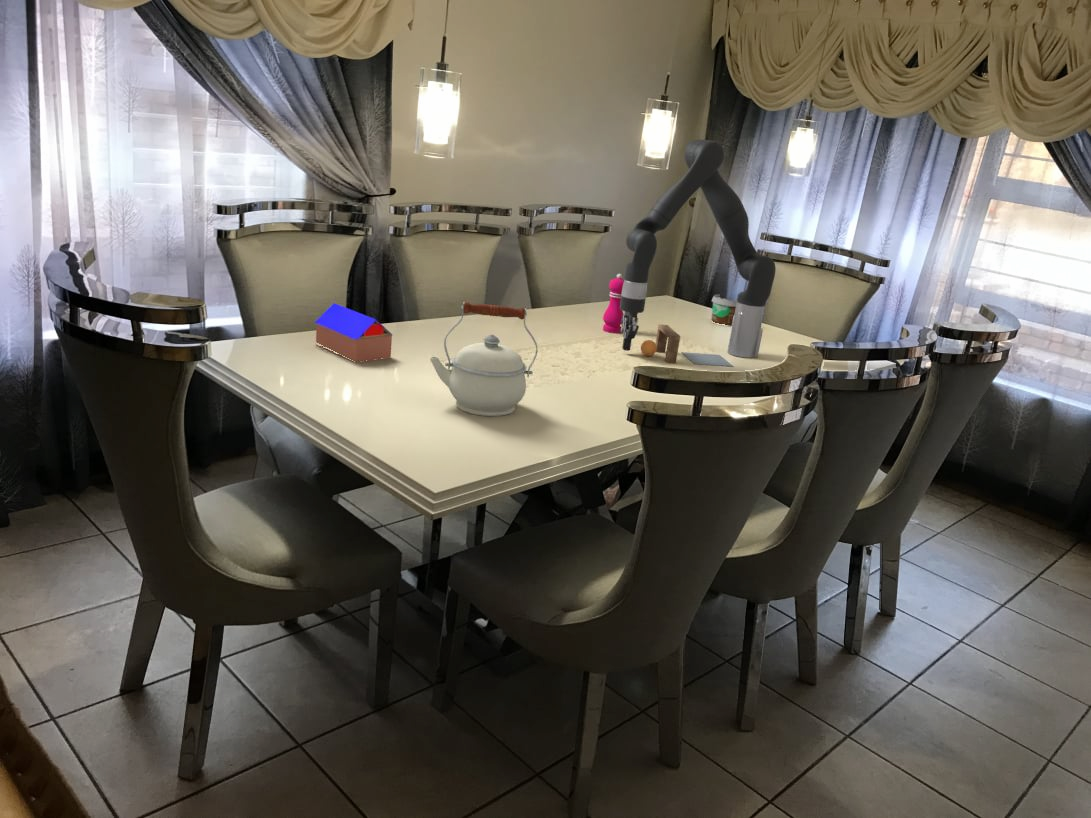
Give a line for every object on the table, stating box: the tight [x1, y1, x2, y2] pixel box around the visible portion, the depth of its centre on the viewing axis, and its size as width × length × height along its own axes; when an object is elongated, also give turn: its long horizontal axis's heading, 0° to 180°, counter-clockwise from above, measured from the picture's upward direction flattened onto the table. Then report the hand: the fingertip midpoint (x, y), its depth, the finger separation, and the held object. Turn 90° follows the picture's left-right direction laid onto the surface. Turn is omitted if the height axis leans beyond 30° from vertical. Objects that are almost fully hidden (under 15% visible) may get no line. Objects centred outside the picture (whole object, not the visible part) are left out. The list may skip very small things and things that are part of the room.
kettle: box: [429, 301, 538, 417], centre depth 200 cm, size 25×18×25 cm
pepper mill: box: [602, 273, 625, 334], centre depth 292 cm, size 7×7×20 cm
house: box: [314, 303, 393, 363], centre depth 235 cm, size 12×20×12 cm, turn 47°
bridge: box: [655, 323, 681, 364], centre depth 268 cm, size 3×14×9 cm, turn 9°
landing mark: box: [681, 351, 734, 368], centre depth 272 cm, size 13×13×1 cm
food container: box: [711, 294, 737, 326], centre depth 326 cm, size 12×6×10 cm, turn 25°
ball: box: [640, 339, 657, 357], centre depth 267 cm, size 5×5×5 cm
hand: (626, 349), depth 267 cm, fingers closed
